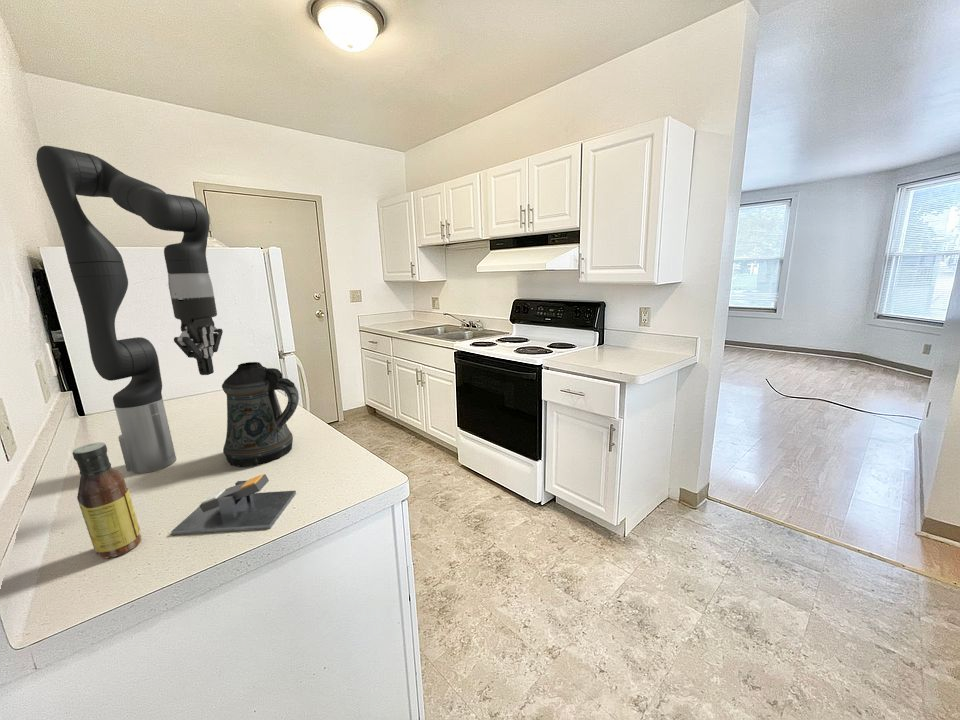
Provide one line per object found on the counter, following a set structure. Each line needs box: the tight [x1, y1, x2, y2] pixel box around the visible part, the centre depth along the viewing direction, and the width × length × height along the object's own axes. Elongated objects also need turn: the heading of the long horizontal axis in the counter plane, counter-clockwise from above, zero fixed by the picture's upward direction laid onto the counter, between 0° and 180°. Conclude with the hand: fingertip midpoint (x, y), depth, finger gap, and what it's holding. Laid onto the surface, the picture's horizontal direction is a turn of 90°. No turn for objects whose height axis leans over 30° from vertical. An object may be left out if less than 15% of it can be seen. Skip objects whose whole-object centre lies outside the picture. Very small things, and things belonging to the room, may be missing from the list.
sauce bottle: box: [72, 441, 142, 559], centre depth 68 cm, size 6×6×20 cm
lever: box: [198, 474, 270, 512], centre depth 79 cm, size 12×4×2 cm, turn 92°
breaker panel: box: [170, 479, 297, 536], centre depth 79 cm, size 18×12×5 cm, turn 93°
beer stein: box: [221, 361, 300, 468], centre depth 105 cm, size 16×19×25 cm
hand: (206, 374), depth 88 cm, fingers closed
